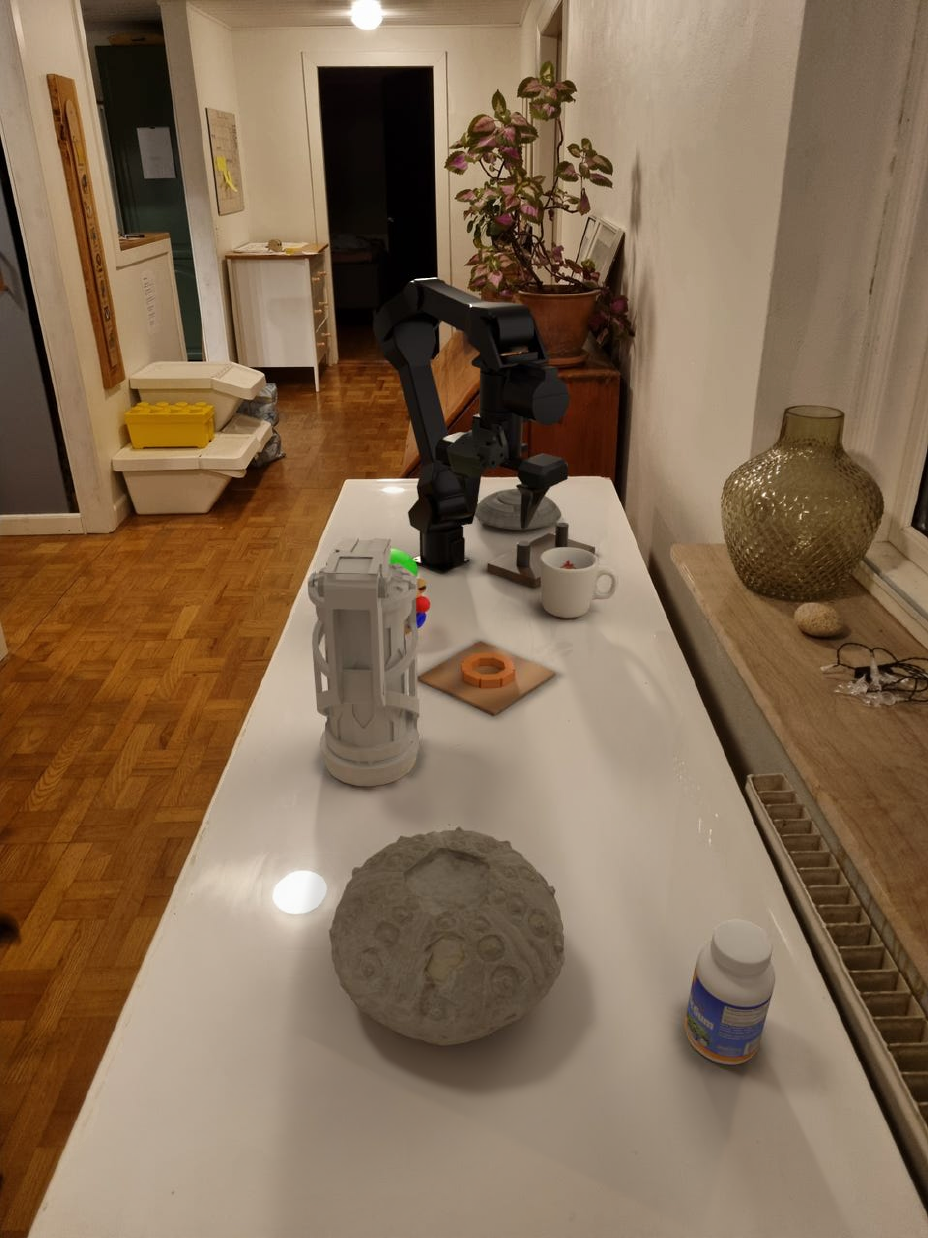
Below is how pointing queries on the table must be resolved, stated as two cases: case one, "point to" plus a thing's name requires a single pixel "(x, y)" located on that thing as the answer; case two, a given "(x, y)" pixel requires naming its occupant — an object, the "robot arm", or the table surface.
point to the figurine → (421, 601)
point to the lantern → (366, 663)
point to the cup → (572, 581)
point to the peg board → (532, 557)
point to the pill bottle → (731, 993)
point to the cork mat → (485, 698)
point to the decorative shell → (447, 936)
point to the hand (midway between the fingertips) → (497, 519)
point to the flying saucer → (514, 511)
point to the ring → (487, 679)
